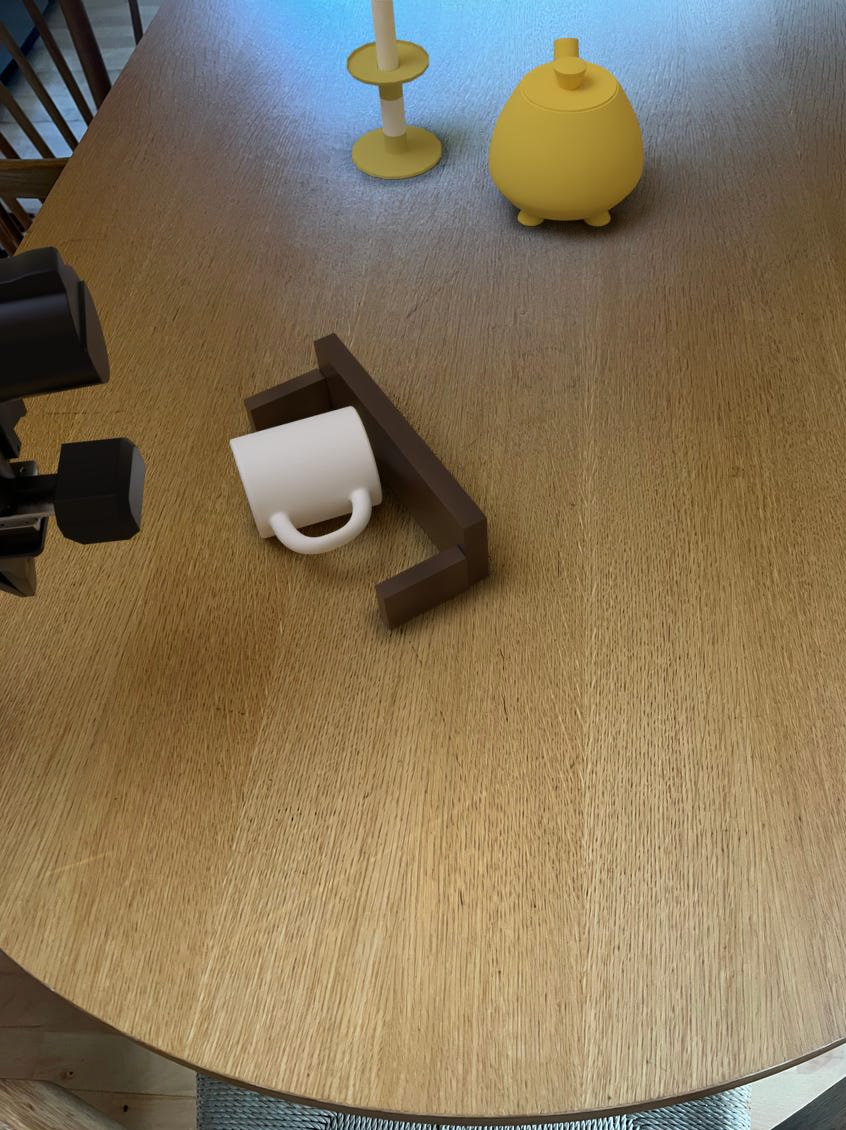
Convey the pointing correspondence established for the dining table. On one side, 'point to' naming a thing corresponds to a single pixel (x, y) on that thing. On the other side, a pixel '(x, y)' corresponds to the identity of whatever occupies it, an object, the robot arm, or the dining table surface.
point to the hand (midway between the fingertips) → (30, 591)
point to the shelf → (390, 477)
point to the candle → (392, 102)
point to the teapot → (566, 142)
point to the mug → (310, 478)
